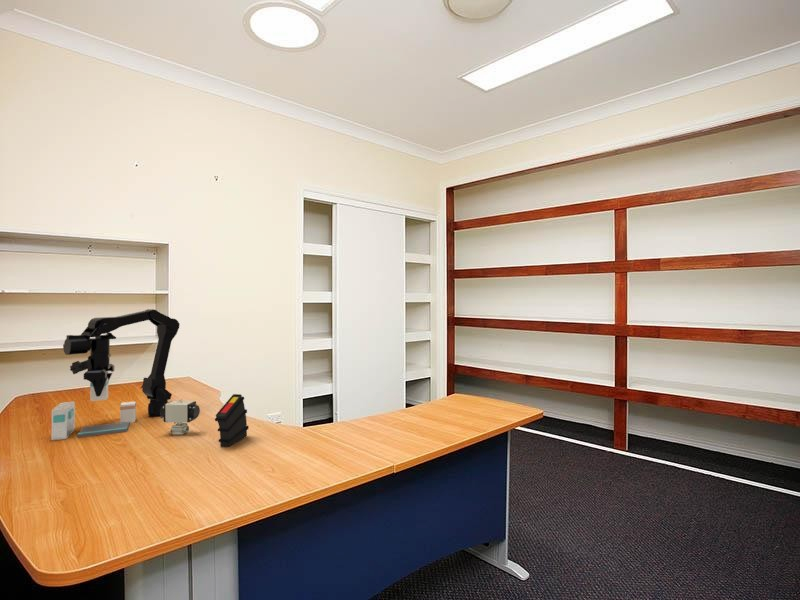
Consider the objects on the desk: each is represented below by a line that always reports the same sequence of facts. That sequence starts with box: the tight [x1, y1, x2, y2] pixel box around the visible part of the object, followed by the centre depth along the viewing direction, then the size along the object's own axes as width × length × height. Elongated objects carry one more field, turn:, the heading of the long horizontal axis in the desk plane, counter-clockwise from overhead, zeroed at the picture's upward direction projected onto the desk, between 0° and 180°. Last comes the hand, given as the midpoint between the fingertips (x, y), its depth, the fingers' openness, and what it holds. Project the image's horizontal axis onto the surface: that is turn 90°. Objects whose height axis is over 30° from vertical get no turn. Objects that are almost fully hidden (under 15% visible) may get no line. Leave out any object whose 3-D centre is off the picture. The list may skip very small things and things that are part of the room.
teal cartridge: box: [89, 379, 110, 402], centre depth 154 cm, size 5×5×7 cm
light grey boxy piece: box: [119, 401, 137, 424], centre depth 162 cm, size 5×5×7 cm
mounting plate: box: [77, 422, 131, 438], centre depth 150 cm, size 14×10×1 cm
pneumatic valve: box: [159, 398, 201, 436], centre depth 147 cm, size 6×12×12 cm, turn 89°
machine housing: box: [51, 401, 76, 441], centre depth 146 cm, size 4×12×10 cm, turn 27°
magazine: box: [214, 393, 249, 448], centre depth 139 cm, size 4×13×15 cm, turn 169°
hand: (99, 394), depth 154 cm, fingers closed on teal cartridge, 5 cm apart
